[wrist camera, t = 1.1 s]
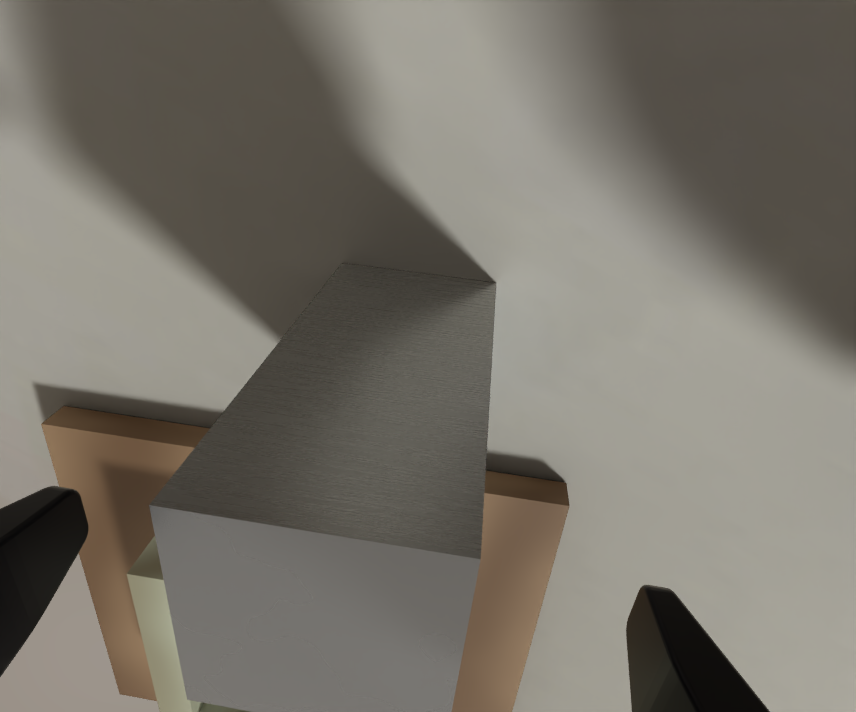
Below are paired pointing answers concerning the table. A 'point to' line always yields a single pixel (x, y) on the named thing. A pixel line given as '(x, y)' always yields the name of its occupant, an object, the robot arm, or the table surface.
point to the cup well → (144, 585)
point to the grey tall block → (339, 506)
